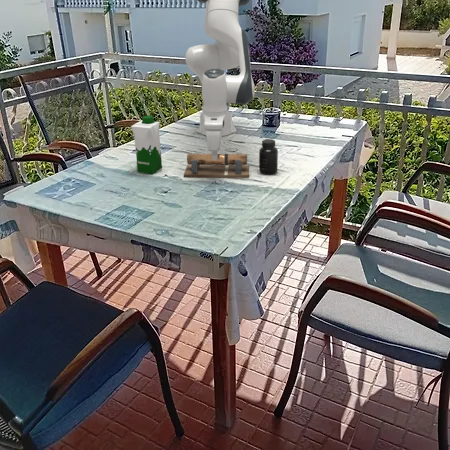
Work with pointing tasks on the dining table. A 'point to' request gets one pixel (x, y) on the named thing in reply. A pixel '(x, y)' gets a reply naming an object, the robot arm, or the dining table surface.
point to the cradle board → (217, 171)
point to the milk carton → (147, 145)
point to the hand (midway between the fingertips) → (216, 154)
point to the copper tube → (221, 160)
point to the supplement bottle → (268, 157)
